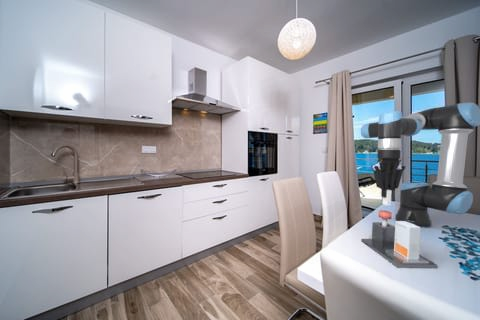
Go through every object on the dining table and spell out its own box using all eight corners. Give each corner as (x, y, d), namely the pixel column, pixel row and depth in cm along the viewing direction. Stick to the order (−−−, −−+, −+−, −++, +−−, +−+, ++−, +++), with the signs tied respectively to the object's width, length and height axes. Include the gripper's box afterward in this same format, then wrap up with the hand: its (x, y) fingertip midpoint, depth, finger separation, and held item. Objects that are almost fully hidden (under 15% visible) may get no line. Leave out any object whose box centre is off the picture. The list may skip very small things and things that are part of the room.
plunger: (385, 233, 81) (386, 210, 80) (393, 238, 77) (394, 213, 76) (375, 233, 81) (376, 210, 80) (382, 238, 77) (384, 213, 76)
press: (392, 241, 83) (393, 221, 83) (437, 268, 64) (438, 242, 64) (361, 241, 83) (362, 221, 83) (397, 267, 64) (398, 242, 64)
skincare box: (393, 250, 71) (394, 220, 71) (403, 250, 71) (405, 220, 71) (408, 260, 65) (409, 227, 65) (419, 259, 65) (421, 227, 65)
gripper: (396, 149, 80) (394, 202, 82) (367, 149, 80) (365, 202, 81) (412, 149, 73) (409, 207, 74) (380, 149, 73) (378, 207, 74)
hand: (386, 204), depth 78 cm, fingers closed
